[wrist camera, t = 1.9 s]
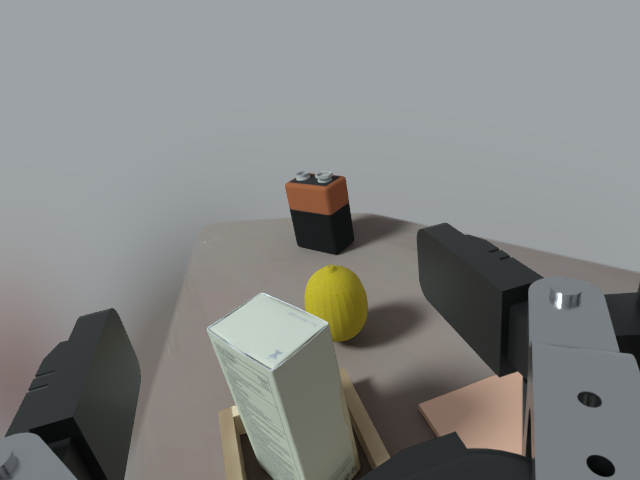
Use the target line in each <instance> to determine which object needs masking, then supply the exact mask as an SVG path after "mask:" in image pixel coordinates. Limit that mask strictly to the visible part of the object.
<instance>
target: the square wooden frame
mask: <svg viewBox="0 0 640 480" xmlns="http://www.w3.org/2000/svg"><path fill="white" fill-rule="evenodd" d="M339 373H340V377H341V382H342V386H343V390H344V395H345V399H346V403H347V408H348V412H349V417H350V421H351V425H352V427H353V429H354V431H355V433H356V435H357V438H358V440H359V442H360V444H361V446H362V448H363V451H364V453H365V455H366V457H367V459H368V461H369V464H370V466H371V468H372V470H373V469H375V468H376V467H378V466H379V465H381V464H382V463H384V462H385V461H387V460H388V459H390V458H391V457H390V456H389V454H388V452H387V450H386V448H385V446H384V444H383V442H382V440H381V438H380V436H379V434H378V432H377V430H376V429H375V427H374V425H373V423H372V421H371V419H370V417H369V415H368V413H367V411H366V409H365V407H364V405H363V403H362V402H361V400H360V398H359V396H358V394H357V392H356V390H355V388H354V386H353V384H352V382H351V380H350V378H349V376H348V375H347V373H346V371H345V369H344V368H341V369H339ZM218 413H219V422H220V431H221V439H222V448H223V457H224V466H225V475H226V480H247V477H246V471H245V465H244V459H243V452H242V446H241V440H240V435H242V434H245V433H247V432H246V430H245V427H244V425H243V422H242V419H241V417H240V414H239V412H238V409H237V406H236V405H235V406H233V407H230V408H227V409H224V410H221V411H218Z"/></svg>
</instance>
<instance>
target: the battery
mask: <svg viewBox="0 0 640 480" xmlns="http://www.w3.org/2000/svg"><path fill="white" fill-rule="evenodd" d="M296 175H297V178H295V179H293V180H291V181H290V182H288V183H286V184H285V188H286V193H287V198H288V202H289V207H290V212H291V217H292V222H293V226H294V231H295V236H296V241H297V245H298V246H300V247H304V248H308V249H313V250H317V251H322V252H327V253H331V254H338V253H340V252H341V251H342V250H343V249H344V248H345V247H347V246H348V245H349V244H350V243H351V242H353V241H354V234H353V227H352V220H351V213H350V206H349V200H348V192H347V185H346V179H345V177H343V176H335V175H333V173H332V172H330V171H323V172H319V173H317V174H312V173H308V171H301V172H298V173H297V174H296Z"/></svg>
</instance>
